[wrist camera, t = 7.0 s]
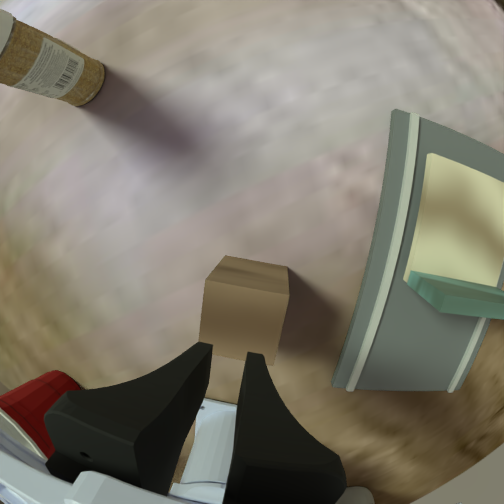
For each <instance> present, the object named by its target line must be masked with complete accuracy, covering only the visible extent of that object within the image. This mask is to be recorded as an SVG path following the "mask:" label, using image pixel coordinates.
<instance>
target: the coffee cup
mask: <svg viewBox="0 0 504 504" xmlns="http://www.w3.org/2000/svg"><path fill="white" fill-rule="evenodd" d="M335 504H375V502H374V499H373V496H372V493H371V492H370V491H369V490H368V489H367V488H365V487H358V486H355V487H348V488H346V490H345V492H344V494H343V495H342V496H341V497H340V499H339V500H338V501H337V502H336V503H335Z"/></svg>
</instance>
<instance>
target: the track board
mask: <svg viewBox="0 0 504 504" xmlns="http://www.w3.org/2000/svg"><path fill="white" fill-rule="evenodd" d="M429 153H434V154H437V155H439V156H442V157H445V158H447V159H450V160H453V161H455V162H458V163H460V164H463V165H465V166H468V167H470V168H472V169H475V170H477V171H479V172H482V173H484V174H486V175H488V176H491V177H493V178H495V179H497V180H499V181H501V182H504V154H502V153H501V152H499V151H497V150H495V149H493V148H491V147H489V146H487V145H485V144H483V143H481V142H479V141H477V140H475V139H472V138H470V137H468V136H466V135H464V134H461V133H459V132H457V131H454V130H452V129H450V128H447V127H445V126H442V125H440V124H437V123H435V122H432V121H430V120H427V119H424V118H421V117H419V115H418V114H416V113H413V112H412V113H407V112H404V111H401V110H398V109H394V110H393V111H392V114H391V125H390V134H389V143H388V151H387V159H386V166H385V173H384V180H383V186H382V192H381V198H380V203H379V209H378V214H377V219H376V224H375V229H374V234H373V239H372V243H371V248H370V252H369V257H368V261H367V265H366V269H365V273H364V277H363V281H362V285H361V289H360V292H359V296H358V300H357V303H356V307H355V310H354V314H353V317H352V321H351V324H350V327H349V330H348V334H347V337H346V340H345V343H344V346H343V349H342V352H341V355H340V358H339V361H338V364H337V367H336V370H335V372H334V375H333V378H332V381H331V383H332V387H337V388H346V391H354V389H364V390H385V391H445V390H447V392H448V393H452V392H453V391H454V390H459V389H460V388H461V386H462V384H463V382H464V380H465V378H466V376H467V374H468V372H469V370H470V368H471V366H472V364H473V361H474V359H475V357H476V355H477V353H478V350H479V348H480V346H481V343H482V341H483V339H484V336H485V334H486V331H487V329H488V326H489V323H490V321H491V318H484V317H476V316H467V315H459V314H450V313H442V312H439V311H438V310H437V309H436V308H434V307H433V306H432V305H431V304H430V303H429V302H427V301H426V300H425V299H424V298H423V297H421V296H420V295H419V294H418V293H417V292H415V291H414V290H413V289H412V288H411V287H409V286H408V285H407V282H405V281H404V280H403V278H404V274H405V270H406V266H407V262H408V258H409V254H410V250H411V246H412V241H413V237H414V232H415V227H416V222H417V217H418V212H419V206H420V201H421V195H422V188H423V182H424V174H425V167H426V158H427V154H429ZM503 281H504V259H503V263H502V267H501V271H500V274H499V278H498V282H497V285H496V287H497V288H499V289H501V288H502V285H503Z"/></svg>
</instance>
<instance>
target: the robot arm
mask: <svg viewBox="0 0 504 504" xmlns="http://www.w3.org/2000/svg"><path fill="white" fill-rule="evenodd" d="M212 351H213V344H208V343H204V342H197V343H196V344H194V345H193V346H192V347H190V348H189V349H188V350H186V351H185V352H184V353H182V354H181V355H179V356H178V357H177V358H175V359H174V360H172V361H171V362H169V363H167V364H166V365H164V366H162V367H160V368H159V369H157V370H155V371H153V372H151V373H149V374H147V375H144V376H142V377H139V378H137V379H134V380H131V381H128V382H124V383H121V384H118V385H113V386H109V387H103V388H97V389H89V390H73V391H66V392H65V393H64V394H63V395H62V396H61V397H60V398H59V399H58V400H57V401H56V402H55V403H54V404H53V405H52V406H51V408H50V409H49V410H48V411H47V412H46V413H45V414H44V423H45V426H46V430H47V432H48V434H49V437H50V439H51V441H52V443H53V446H54V448H55V452H54V453H53V454H52V455H51V457H50V458H49V459H48V461H47V460H45V459H44V458H42V457H40V456H39V455H37V454H36V453H34V452H33V451H31V450H30V449H28V448H27V447H25V446H24V445H22V444H21V443H20V442H18V441H17V440H15V439H14V438H13V437H11V436H10V435H9V434H7V433H6V432H5V431H3V430H2V429H1V428H0V500H1V501H2V502H4V503H5V504H335V503H336V502H337V501H338V500H339V499H340V497H341V496H342V495H343V494H344V492H345V490H346V488H347V483H346V476H345V471H344V468H343V466H342V463H341V460H340V457H339V455H337V454H336V453H334V452H333V451H331V450H330V449H328V448H327V447H325V446H324V445H323V444H321V443H320V442H319V441H317V440H316V439H315V438H314V437H313V436H312V435H310V434H309V433H308V432H307V431H306V430H305V429H304V428H303V427H302V426H301V425H300V424H299V423H298V421H297V420H296V419H295V418H294V417H293V415H292V414H291V413H290V411H289V410H288V409H287V407H286V406H285V404H284V403H283V401H282V399H281V397H280V396H279V394H278V392H277V390H276V388H275V386H274V384H273V382H272V379H271V377H270V375H269V372H268V369H267V366H266V362H265V357H264V355H263V354H259V353H254V352H247V356H246V361H245V367H244V372H243V377H242V383H241V388H240V393H239V398H238V404H237V405H235V404H230V403H225V402H220V401H215V400H211V399H206V398H204V397H205V394H206V390H207V387H208V384H209V377H210V368H211V360H212ZM202 406H204V407H202ZM195 418H196V428H195V441H194V444H193V447H192V450H191V453H190V456H189V459H188V461H187V464H186V467H185V470H184V473H183V476H182V478H181V481H180V484H178V483H173V485H172V488H171V491H170V493H168V491H169V488H170V485H171V481H172V478H173V475H174V471H175V468H176V465H177V462H178V459H179V456H180V453H181V450H182V447H183V444H184V442H185V439H186V437H187V435H188V433H189V431H190V429H191V426H192V424H193V422H194V420H195ZM457 504H462V503H457Z"/></svg>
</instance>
